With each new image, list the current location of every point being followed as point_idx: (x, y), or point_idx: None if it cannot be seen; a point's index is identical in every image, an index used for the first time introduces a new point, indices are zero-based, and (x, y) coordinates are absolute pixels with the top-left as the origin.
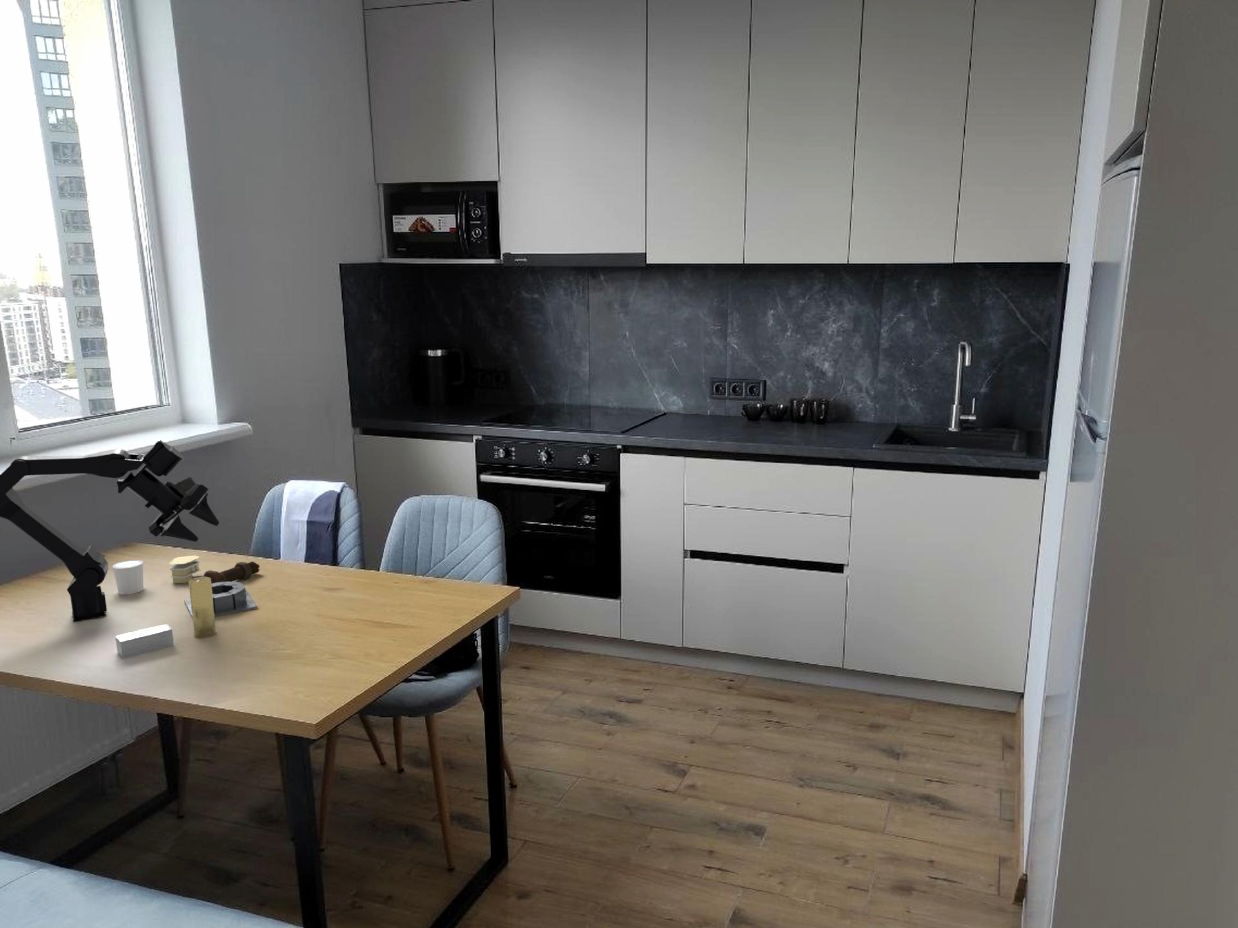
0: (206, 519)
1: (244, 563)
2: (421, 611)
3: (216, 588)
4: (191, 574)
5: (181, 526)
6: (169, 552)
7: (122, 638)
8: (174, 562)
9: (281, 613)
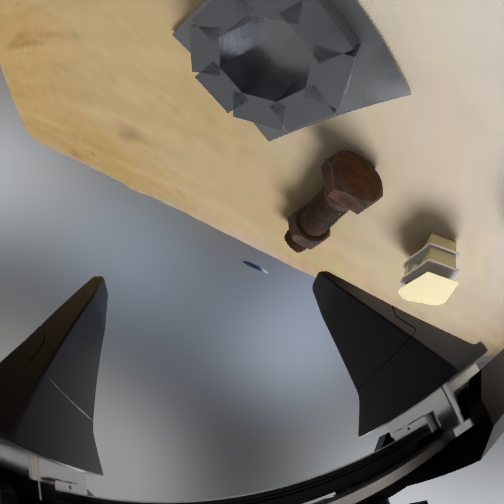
0: (50, 319)
1: (296, 238)
2: (26, 80)
3: (295, 90)
4: (418, 251)
5: (363, 376)
6: None
7: None
8: (447, 285)
9: (119, 21)
